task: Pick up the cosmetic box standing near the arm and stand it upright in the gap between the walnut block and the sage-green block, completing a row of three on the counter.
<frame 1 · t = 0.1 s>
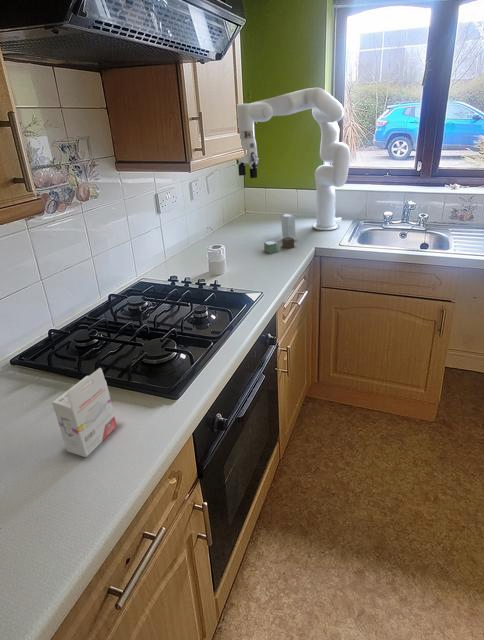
hand: (247, 176, 178), 31 cm above the countertop, tool pointing down, fingers open, 9 cm apart
walnut block: (288, 247, 184), on the countertop
sage block: (270, 251, 179), on the countertop
cosmetic box: (288, 240, 193), on the countertop
ink cartridge box: (92, 439, 79), on the countertop
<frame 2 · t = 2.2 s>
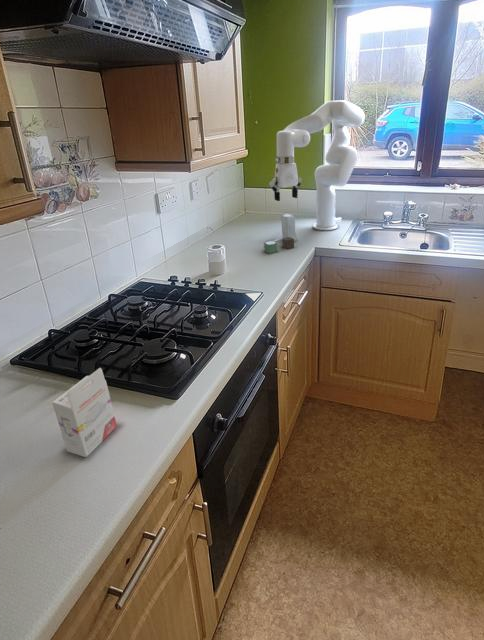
hand: (286, 199, 185), 20 cm above the countertop, tool pointing down, fingers open, 9 cm apart
nothing on the countertop moved.
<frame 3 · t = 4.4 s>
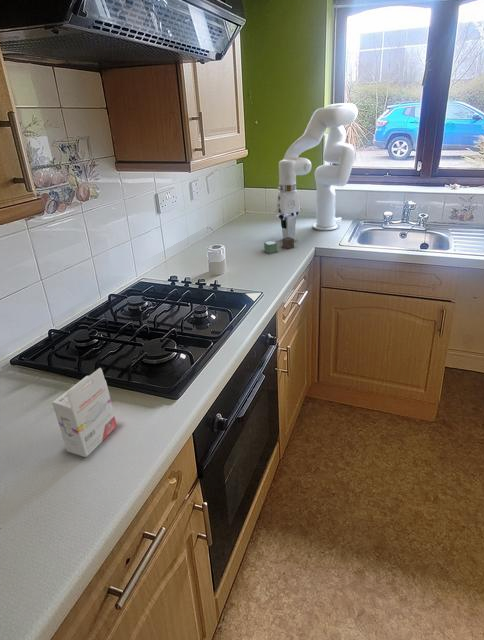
hand: (288, 226, 191), 7 cm above the countertop, tool pointing down, fingers closed on cosmetic box, 4 cm apart
cosmetic box: (288, 240, 193), on the countertop, touching gripper
everything else where it was.
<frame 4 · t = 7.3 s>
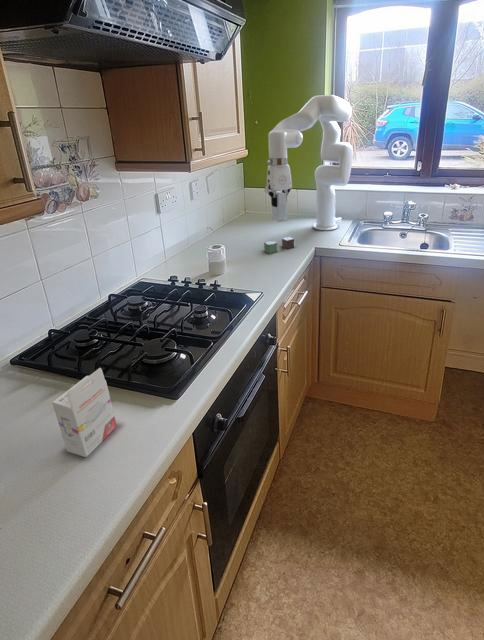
hand: (279, 205, 175), 20 cm above the countertop, tool pointing down, fingers closed on cosmetic box, 4 cm apart
cosmetic box: (279, 221, 178), point 13 cm above the countertop, touching gripper
everything else where it was.
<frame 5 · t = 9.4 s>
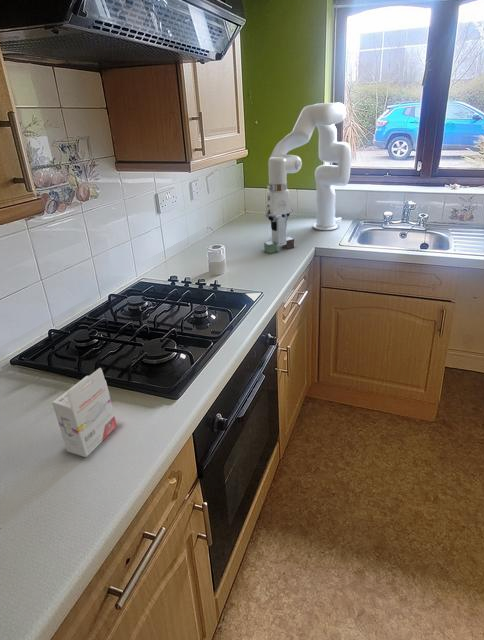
hand: (278, 228, 178), 9 cm above the countertop, tool pointing down, fingers closed on cosmetic box, 4 cm apart
cosmetic box: (278, 244, 180), point 2 cm above the countertop, touching gripper
everything else where it was.
when the fingers open (7 cm above the countertop, at t = 10.5 s): cosmetic box stays where it is, on the countertop.
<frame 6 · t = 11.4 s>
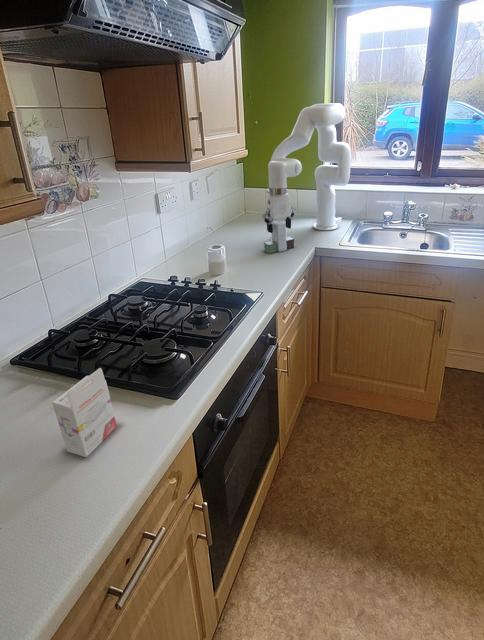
hand: (279, 230, 178), 9 cm above the countertop, tool pointing down, fingers open, 9 cm apart
cosmetic box: (279, 249, 182), on the countertop
everything else where it was.
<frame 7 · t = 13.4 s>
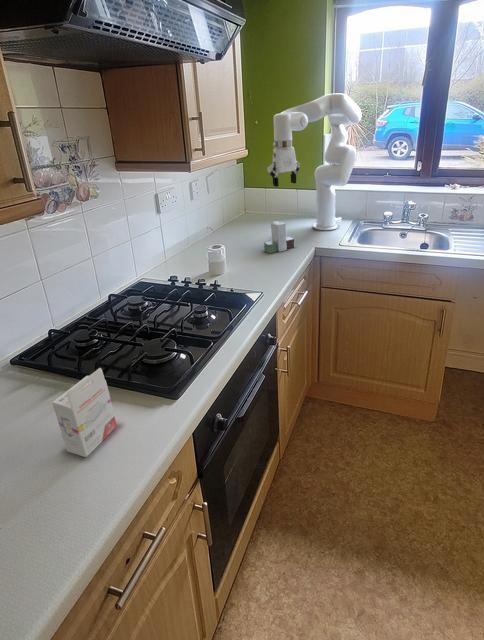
hand: (284, 184, 180), 27 cm above the countertop, tool pointing down, fingers open, 9 cm apart
nothing on the countertop moved.
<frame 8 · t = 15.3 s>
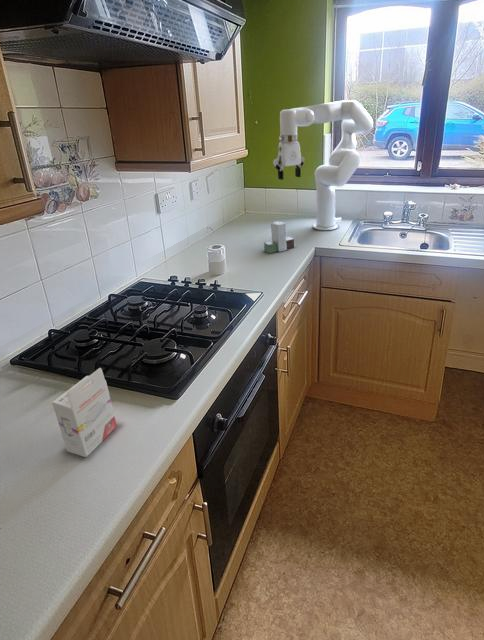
hand: (289, 178, 188), 28 cm above the countertop, tool pointing down, fingers open, 9 cm apart
nothing on the countertop moved.
at the end: cosmetic box 0.2 cm from the target spot, on the countertop; cosmetic box tilted 0°; walnut block moved 0.0 cm from its start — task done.
